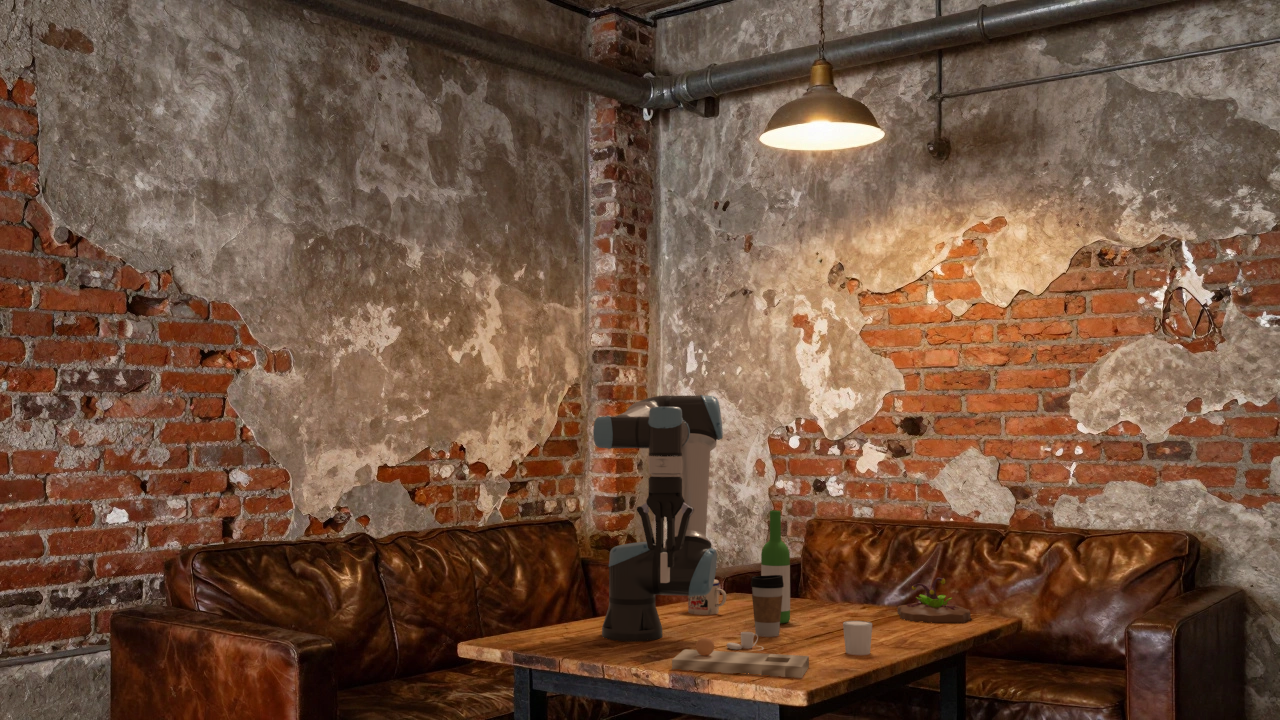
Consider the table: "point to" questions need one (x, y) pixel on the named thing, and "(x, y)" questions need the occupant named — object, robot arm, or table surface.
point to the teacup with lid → (707, 601)
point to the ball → (705, 646)
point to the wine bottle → (777, 562)
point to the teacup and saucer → (744, 641)
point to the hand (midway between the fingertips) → (665, 582)
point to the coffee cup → (767, 604)
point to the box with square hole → (743, 663)
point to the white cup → (857, 637)
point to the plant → (933, 608)
